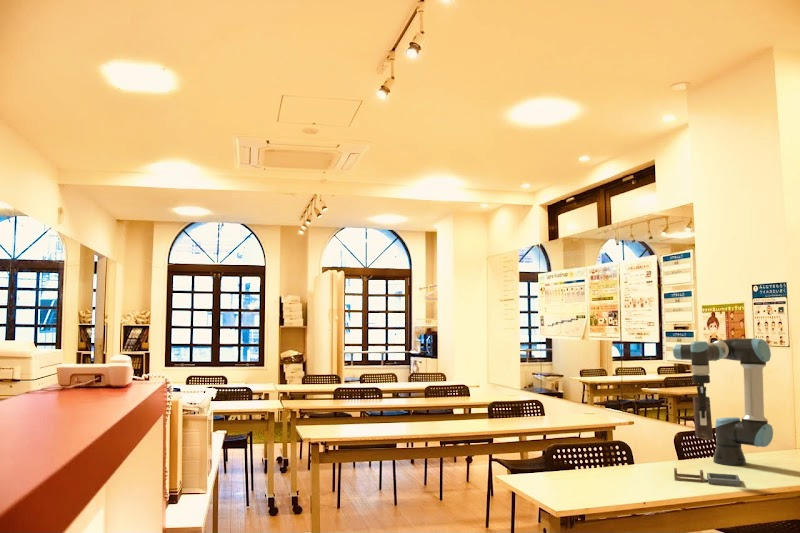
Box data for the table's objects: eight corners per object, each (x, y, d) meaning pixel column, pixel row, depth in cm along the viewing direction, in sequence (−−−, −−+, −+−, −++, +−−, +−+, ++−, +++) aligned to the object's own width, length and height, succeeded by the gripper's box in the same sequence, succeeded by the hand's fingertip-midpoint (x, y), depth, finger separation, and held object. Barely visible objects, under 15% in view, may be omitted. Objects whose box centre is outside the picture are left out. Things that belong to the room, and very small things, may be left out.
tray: (706, 477, 303) (706, 472, 303) (737, 480, 298) (737, 474, 298) (708, 484, 291) (708, 478, 291) (740, 486, 286) (740, 481, 286)
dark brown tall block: (694, 440, 298) (692, 396, 300) (695, 437, 304) (693, 394, 306) (712, 441, 294) (710, 397, 296) (713, 438, 301) (711, 395, 302)
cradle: (674, 475, 308) (673, 466, 308) (702, 477, 303) (702, 468, 303) (674, 480, 298) (674, 471, 299) (704, 482, 293) (703, 473, 294)
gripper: (691, 372, 313) (694, 420, 311) (692, 375, 294) (694, 426, 292) (708, 372, 310) (711, 421, 308) (710, 376, 291) (713, 427, 289)
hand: (703, 423), depth 300 cm, fingers closed on dark brown tall block, 7 cm apart
